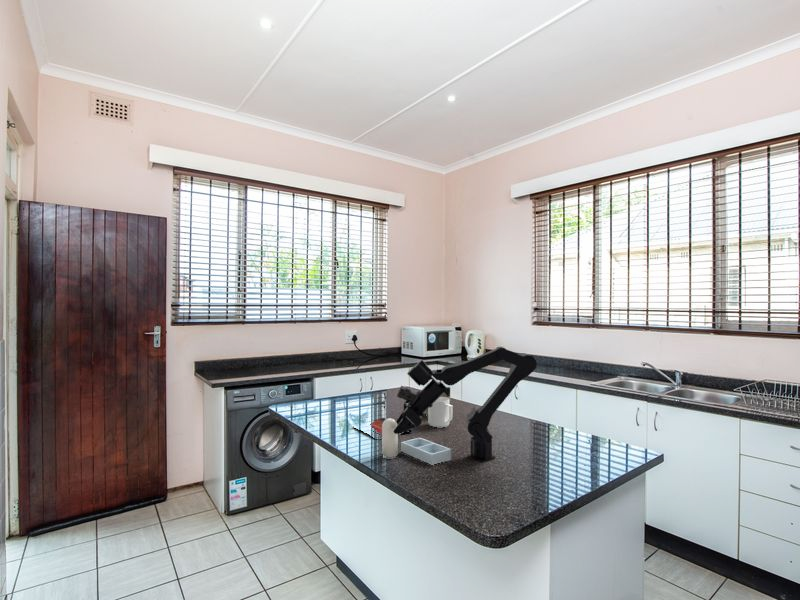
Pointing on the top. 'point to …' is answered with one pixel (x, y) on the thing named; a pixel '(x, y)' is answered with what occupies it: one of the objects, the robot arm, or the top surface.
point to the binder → (378, 425)
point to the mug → (440, 413)
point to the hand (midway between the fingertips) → (395, 428)
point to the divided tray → (426, 450)
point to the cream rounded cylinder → (389, 438)
